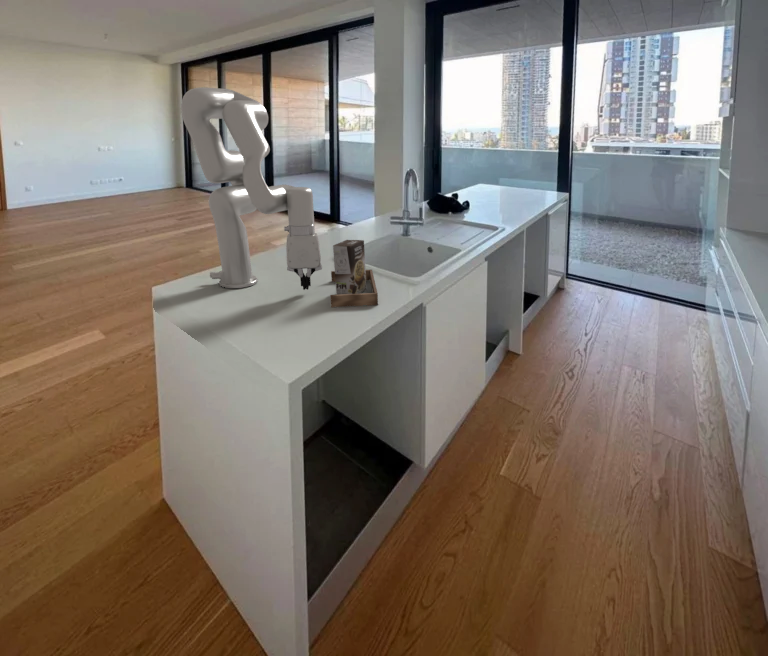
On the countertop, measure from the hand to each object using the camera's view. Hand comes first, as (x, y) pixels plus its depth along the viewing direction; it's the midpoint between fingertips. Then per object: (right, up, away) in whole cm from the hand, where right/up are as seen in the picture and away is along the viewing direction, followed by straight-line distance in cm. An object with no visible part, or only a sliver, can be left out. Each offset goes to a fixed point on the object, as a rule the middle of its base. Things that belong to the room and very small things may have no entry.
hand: (306, 288), depth 156 cm
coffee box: (+14, -2, +1) cm, 15 cm away
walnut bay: (+14, -1, +2) cm, 15 cm away
